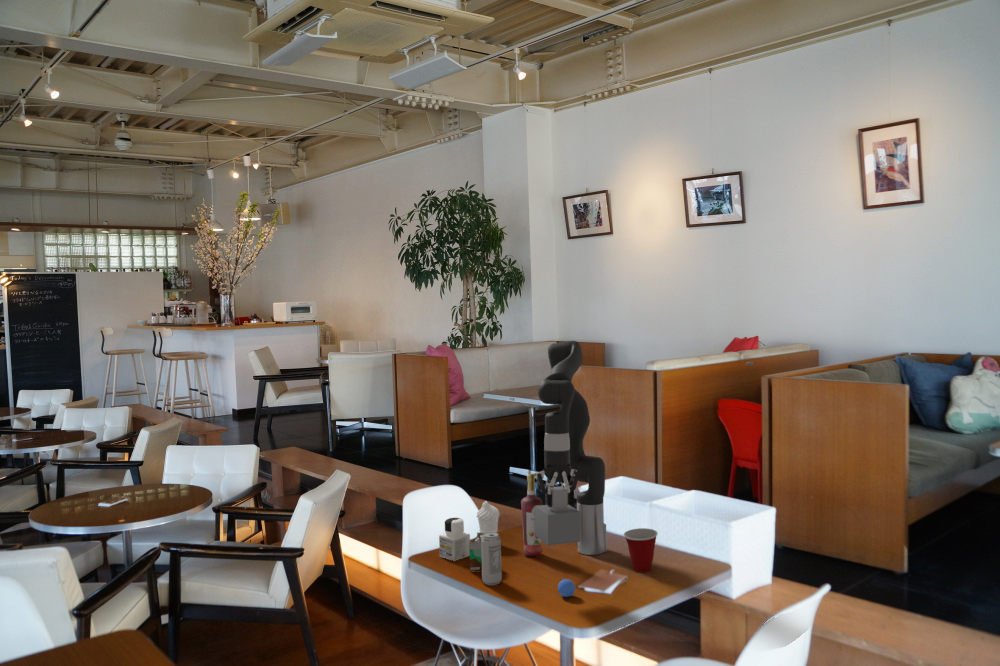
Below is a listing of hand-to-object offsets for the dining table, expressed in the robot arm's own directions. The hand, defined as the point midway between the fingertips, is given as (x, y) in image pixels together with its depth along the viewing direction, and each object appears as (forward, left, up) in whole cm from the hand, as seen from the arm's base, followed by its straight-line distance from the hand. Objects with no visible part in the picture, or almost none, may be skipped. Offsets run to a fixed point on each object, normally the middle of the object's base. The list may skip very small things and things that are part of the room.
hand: (557, 505), depth 216 cm
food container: (+13, -31, -27) cm, 43 cm away
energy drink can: (+15, -17, -27) cm, 35 cm away
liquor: (-7, -36, -27) cm, 46 cm away
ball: (-1, +2, -24) cm, 24 cm away
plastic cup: (-33, -8, -27) cm, 43 cm away
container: (+18, -46, -27) cm, 56 cm away
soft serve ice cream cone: (+3, -53, -27) cm, 60 cm away
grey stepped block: (0, 0, -10) cm, 10 cm away
